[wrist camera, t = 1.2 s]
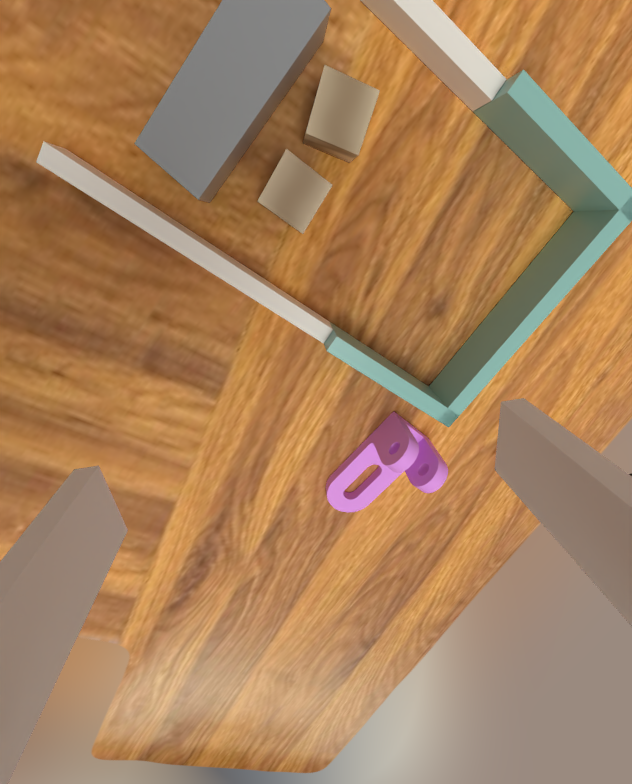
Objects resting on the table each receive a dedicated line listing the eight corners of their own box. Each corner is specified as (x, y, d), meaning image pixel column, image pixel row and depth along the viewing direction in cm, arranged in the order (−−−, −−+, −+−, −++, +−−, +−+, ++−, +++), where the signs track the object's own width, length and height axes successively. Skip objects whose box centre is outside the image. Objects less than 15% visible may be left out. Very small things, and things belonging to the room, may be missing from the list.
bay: (320, 334, 36) (326, 350, 32) (486, 92, 30) (523, 69, 25) (430, 404, 41) (448, 427, 36) (597, 206, 34) (646, 204, 29)
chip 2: (302, 143, 30) (305, 132, 26) (319, 84, 29) (324, 64, 25) (349, 162, 31) (358, 155, 27) (367, 106, 29) (379, 90, 26)
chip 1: (260, 203, 32) (257, 201, 28) (285, 157, 30) (286, 148, 27) (300, 232, 33) (302, 233, 29) (326, 189, 32) (332, 185, 28)
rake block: (156, 155, 30) (134, 143, 25) (268, -21, 26) (266, -72, 22) (210, 202, 31) (198, 199, 27) (322, 43, 28) (331, 8, 23)
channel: (59, 167, 29) (36, 162, 27) (197, -204, 22) (185, -263, 20) (320, 334, 36) (323, 343, 34) (485, 92, 30) (506, 79, 27)
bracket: (393, 410, 41) (414, 445, 34) (427, 437, 43) (453, 475, 36) (316, 489, 44) (322, 534, 38) (351, 511, 46) (362, 557, 40)
